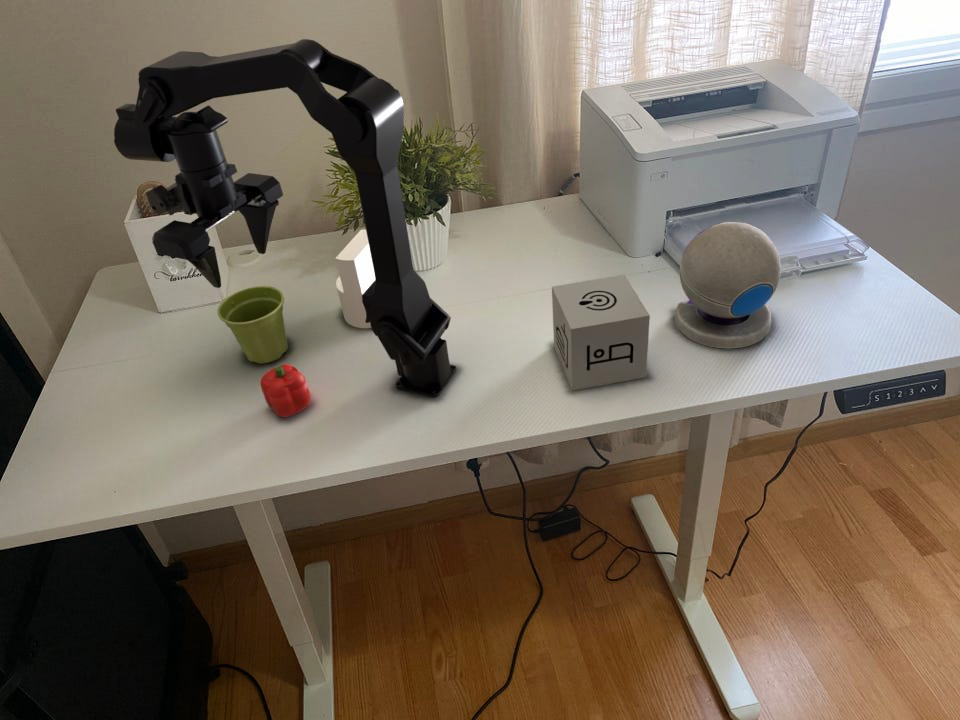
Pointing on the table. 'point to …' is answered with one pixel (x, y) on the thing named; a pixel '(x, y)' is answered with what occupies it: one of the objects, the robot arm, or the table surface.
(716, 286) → the webcam
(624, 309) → the icon cube
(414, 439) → the table surface
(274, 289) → the plant pot
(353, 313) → the cylinder with rectangular tab
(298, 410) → the pepper
